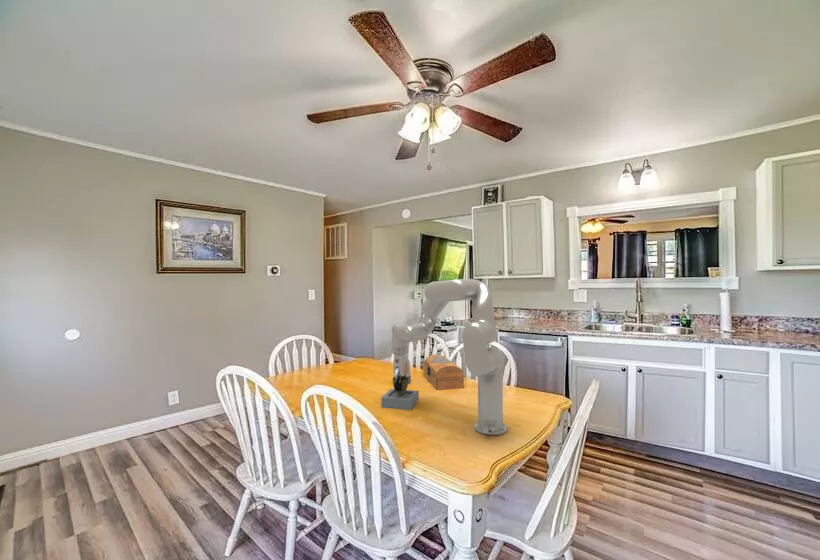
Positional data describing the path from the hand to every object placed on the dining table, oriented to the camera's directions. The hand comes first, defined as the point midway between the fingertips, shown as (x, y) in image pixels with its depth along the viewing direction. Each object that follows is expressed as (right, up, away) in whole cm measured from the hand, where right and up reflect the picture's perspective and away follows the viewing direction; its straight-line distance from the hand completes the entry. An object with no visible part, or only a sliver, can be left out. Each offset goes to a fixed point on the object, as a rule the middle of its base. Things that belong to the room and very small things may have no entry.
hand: (400, 388), depth 173 cm
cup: (0, -3, 0) cm, 3 cm away
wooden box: (+22, -8, +34) cm, 41 cm away
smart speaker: (0, -8, +32) cm, 33 cm away
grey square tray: (0, -8, 0) cm, 8 cm away
